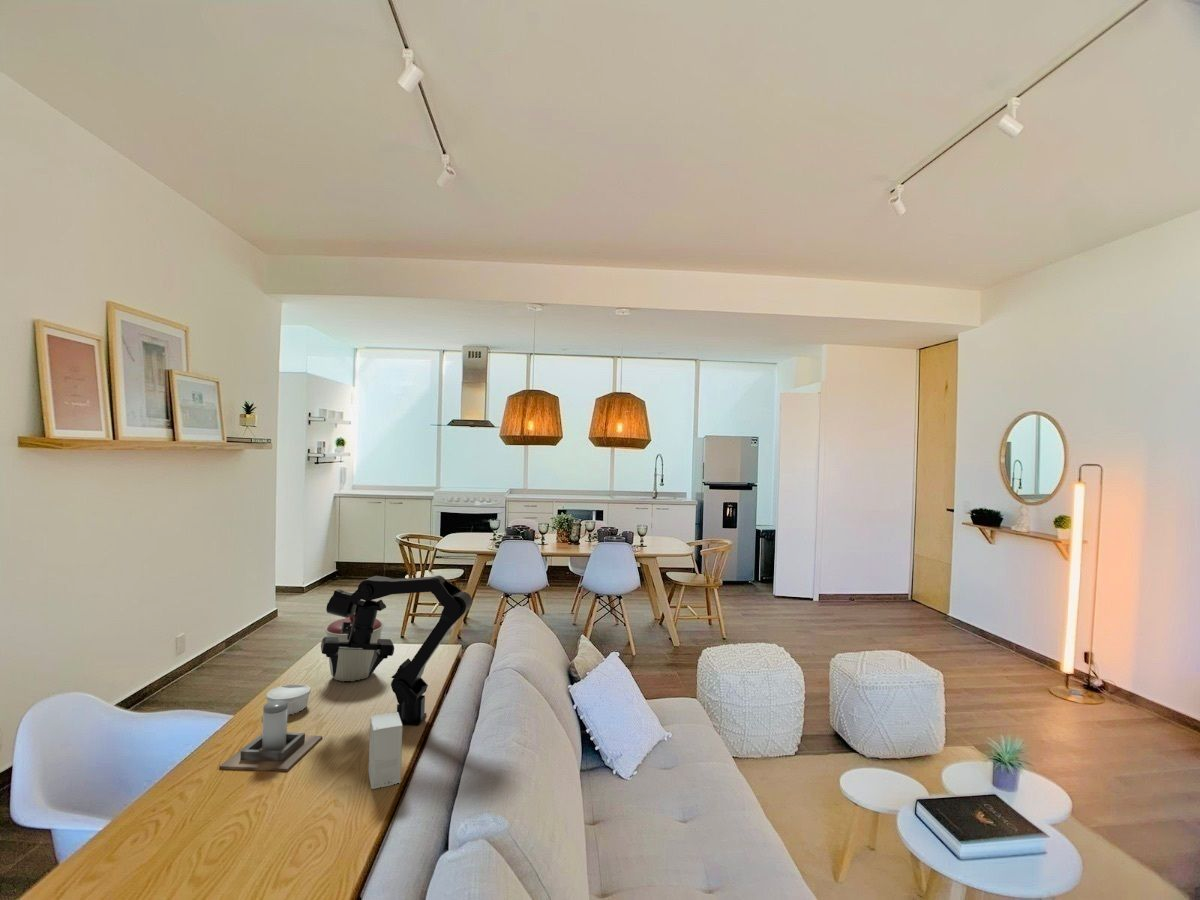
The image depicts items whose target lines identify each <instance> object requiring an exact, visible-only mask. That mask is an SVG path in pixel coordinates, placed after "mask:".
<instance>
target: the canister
mask: <svg viewBox="0 0 1200 900" xmlns="http://www.w3.org/2000/svg"><path fill="white" fill-rule="evenodd" d="M354 615H355V614H354ZM354 615H351V616H350V617H349V618H345V617H344V618H341V619H337V620H335V621H333V622H331V623H329V624H328V625H327V626H325V628H324V632H325V633H326V637H338V639H339V642H348V641H349V640H347V634H344V633H341V628H342V624H343V622H350V626H352V623H353V620H354ZM384 626H385V623H384V622H383V621H381V620H379V619H378V618H376V620H375V624H374V628H373V629H374V630H373V633H372V637H371V641H370V643H377V640H378V639H381V635H382V629H383V628H384ZM373 655H374V650H352V649H339V650H338V662H337V669H336V674H335V677H333V671H332V662H331V658H330V657H328V663H329V669H330V675H331V677H332V678H333V679H334V680H336V681H338V680H339V682H344V681H351V682H356V681H355V680H358V681H361V680H360V679H362V680H365V679H367V678H369V677H368V671H369V667H370V664H371V661H372V658H373ZM374 672H375V670H374V671H373V673H374ZM364 678H365V679H364Z"/></svg>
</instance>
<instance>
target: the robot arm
mask: <svg viewBox="0 0 1200 900" xmlns="http://www.w3.org/2000/svg"><path fill="white" fill-rule="evenodd" d="M417 593H418V594H419V593H420V594H421V593H431V594H432V595H434V597H435V599H436V600H437V602H438V603H439V604H440V605H441V606H442V607H443V609H442V610H441V614H440V618H439V620H438V622H437V623H436V624H435V626H434V628H433V629H432V630H431V631H430V633H429V635H428V636H427V638H426V639H425V641H424V642H423V643H422V645H421V646H420V648H419V649H418V651H417V652H416V654H415V655H414V656H413V658H412V659H410V658H407V659H406V660H405V661H403V662H402V663H401V664H400V665H399V666H398V668H397V670H396V672H395V673H394V674H393V675H392V676H391V679H392V680H391V682H390V686H391V690H392V692H393V693H394V694H395V699H396V701H397V704H396V712H398V713H399V716H400V719H401V722H402V725H403V726H404V725H405V726H407V725H408V726H419V725H421V723H422V721H424V719H425V718H426V716H427V713H426V712H425V707H426V706H425V705H426V704H425V703H426V695H424V694H425V693H426V692H427V689H428V688H429V685H428V683H427V682H426V681H425V680H424V679H423V678H422V676H423V675H424V671H425V668H426V665H427V663H428V662H429V661H430V659H431V657H432V656H433V655H434V653H435V652H436V650H438V648H439V646H440V644H441V643H442V642H443V640H444V639H445V637H446V636H447V634H448V633H449V632H450V630H451V629H452V627H453V626H454V625H455V623H457V622H458V621H459V620H460V619H461V618H462V617H463V616H464V615H465V614H467V612H468V611H469V610H470V609H471V607H472V605H473V599H472V596H471V595H470V594H469V593H468V592H466V591H463V590H462V589H460V588H459V587H458V586H456V585H455V584H453V583H452V582H450V581H448V580H447V579H446V578H445V577H444V576H442V575H440V574H439V575H434V576H425V577H424V576H422V577H421V576H420V577H408V578H391V577H389V576H388V577H387V576H380V575H374V576H371V577H369V578H367V579H364V580H362V581H360V583H359V584H358V587H357V589H356V590H355V591H354V592H353V593H351V592H348V591H344V590H343V589H339V588H337V589H336V590H334V591H333V594H332V595H331V597H330V598H329V600H328V602H327V604H326V608H325V609H326V613H327V614H330V615H334V616H338V617H341V618H344V619H345V618H349V617H350V616H351V615H354V614H355V615H354V620H353V623H352V626H350V622H343V624H342V628H341V633H344V634H347V640H349V641H348V642H339V639H338V637H327V636H325V637H323V638H322V639H321V643H320V649H321V650H320V651H321V654H323V655H325V657H326V658H329V657H330V658H331V662H332V671H333V676H332V678H333V677H335V674H336V669H337V662H338V650H339V649H352V650H374V655H373V658H372V661H371V664H370V667H369V671H368V677H367V678H370V677H371V676H372V675H373V673H374V672H375V670H376V669H377V667H378V666H380V664H381V663H382V662H383V661H384V659H385V660H386V659H388V658H389V657H392V656H394V652H395V644H394V643H393V641H392V640H391V639H390V638H380V639H378V640H377V643H370V641H371V637H372V633H373V630H374V629H373V628H374V624H375V620H376V619H377V614H378V612H381V611H383V610H385V609H386V608H387V605H386V604H385V602H383V599H382V598H384V597H387V596H390V595H401V594H417ZM377 599H379V600H378V601H376V600H377ZM373 671H374V672H373Z"/></svg>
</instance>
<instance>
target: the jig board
mask: <svg viewBox="0 0 1200 900" xmlns="http://www.w3.org/2000/svg"><path fill="white" fill-rule="evenodd" d="M321 740H323V735H314V734H313V735H309V734H308V735H307V734H306V733H305V732H287V736H286V747H284V748H283V749H282V750H281V751H274V750H262V733H260V734H259V735H258V736H256V737H254V739H252V740H250V741H249V742H248V743H247V744H246V745H245V746H244V747H242V748H241V749H239V750H238V751H237V752H235V753H234V754H233V755H232V756H230V757H229V758H228V759H227V760H225V761H224V762H223V763H222V764H220V765H219V766H218V767H219V768H218V769H219V770H238V771H239V770H243V771H263V770H264V771H265V772H266V770H275V771H274V772H288V771H290V770H291V768H293V767H294V766H295V765H296V764H297V763H298V762H299V761H300V760H301V759H303V757H304V756H305V755H307V754H308V753H309V752H310V751H311V749H313V748H314V747H315V746H316V745H317V744H318V743H319V742H320V741H321Z"/></svg>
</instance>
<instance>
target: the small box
mask: <svg viewBox="0 0 1200 900" xmlns="http://www.w3.org/2000/svg"><path fill="white" fill-rule="evenodd" d="M369 723H370V724H369V726H370V727H369V745H368V746H369V750H368V770H367V772H368V779H369V783H370V789H371V790H375V789H381V788H384V787H390V786H394V784H395V785H398V784H397V783H399V784H401V783H402V755H403V754H402V753H403V727H404V725H402V722H401V719H400V716H399V713H398V712H397V711H395V712H388V713H382V714H374V715H370V722H369ZM380 787H381V788H380Z"/></svg>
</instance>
